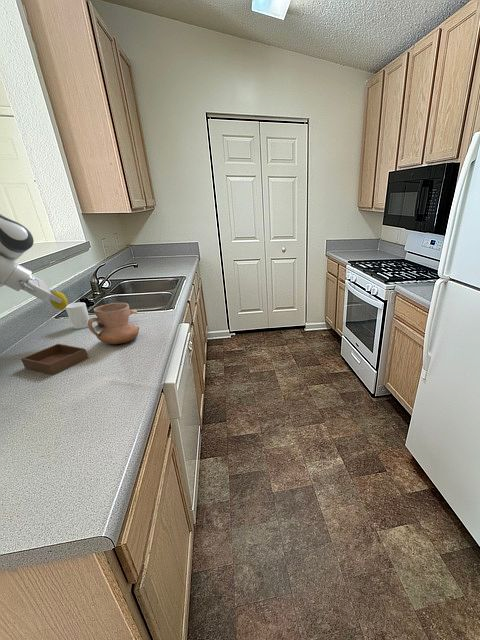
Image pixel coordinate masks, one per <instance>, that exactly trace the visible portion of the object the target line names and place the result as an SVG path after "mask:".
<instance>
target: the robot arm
mask: <svg viewBox="0 0 480 640" xmlns="http://www.w3.org/2000/svg"><path fill="white" fill-rule="evenodd" d="M33 245H34V237H33V234H32V233H31V231H30V230H29V228H27V227H26V226H25V225H23V224H21V223H20V222H17V221H15V220H13V219H10V218H8V217H6V216H4V215H3V214H1V213H0V283H1V284H2V285H4V286H6V287H8V288H10V289H12V290H14V291H16V292H19V291H24V292H26V293H28V294H29V295H31V296H34V298H37V299H39V300H41V301H43V302H47V301H48V300H49V301H50V300H53V301H55V302H58V303H61V302H62V299H61V298H59V297H57V296H55V295H53V294H52V293H53V292H54V291H55V290H52V289H50V286H49V284H47V282H45V281H43V280H42V279H41V278H39V277H37V276H35V275H34V274H32V273H33V270H30V269H28V268H26V267H24V266H22V265H20V264H19V263H17V262H16V261H17V260H18V259H19V258H20V257H22V255H23V254H25V252H27V251H28V250H29V249H31V248H32V247H33Z"/></svg>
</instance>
